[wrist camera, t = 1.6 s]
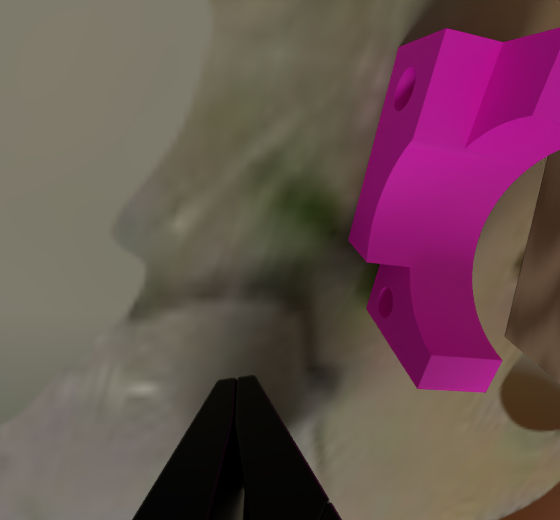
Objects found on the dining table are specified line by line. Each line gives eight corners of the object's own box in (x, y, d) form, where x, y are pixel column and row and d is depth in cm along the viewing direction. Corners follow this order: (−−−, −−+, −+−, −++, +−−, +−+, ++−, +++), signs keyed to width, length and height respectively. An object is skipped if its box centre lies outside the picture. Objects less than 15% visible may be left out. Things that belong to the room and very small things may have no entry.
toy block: (397, 47, 17) (501, 6, 10) (505, 72, 18) (664, 50, 11) (330, 303, 23) (368, 386, 16) (415, 311, 24) (485, 392, 17)
